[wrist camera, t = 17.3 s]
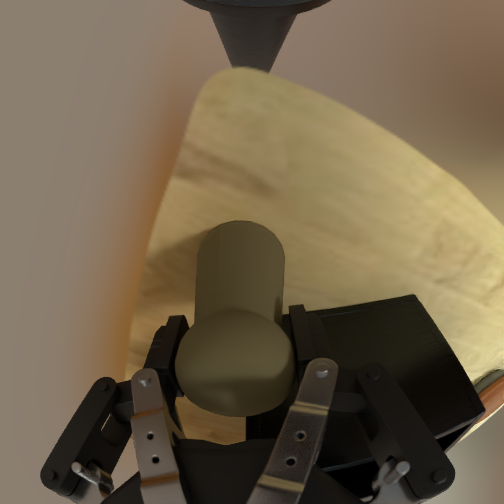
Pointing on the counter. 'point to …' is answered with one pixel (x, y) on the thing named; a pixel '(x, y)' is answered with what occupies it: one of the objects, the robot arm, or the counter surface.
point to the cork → (237, 325)
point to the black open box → (403, 371)
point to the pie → (491, 392)
